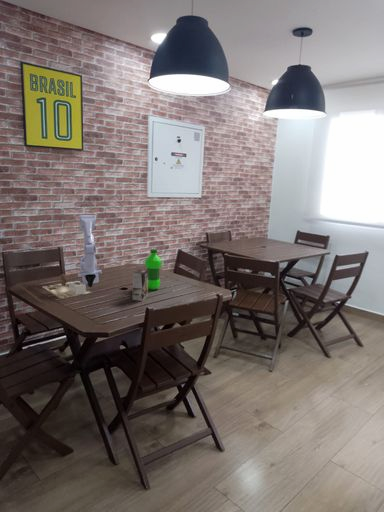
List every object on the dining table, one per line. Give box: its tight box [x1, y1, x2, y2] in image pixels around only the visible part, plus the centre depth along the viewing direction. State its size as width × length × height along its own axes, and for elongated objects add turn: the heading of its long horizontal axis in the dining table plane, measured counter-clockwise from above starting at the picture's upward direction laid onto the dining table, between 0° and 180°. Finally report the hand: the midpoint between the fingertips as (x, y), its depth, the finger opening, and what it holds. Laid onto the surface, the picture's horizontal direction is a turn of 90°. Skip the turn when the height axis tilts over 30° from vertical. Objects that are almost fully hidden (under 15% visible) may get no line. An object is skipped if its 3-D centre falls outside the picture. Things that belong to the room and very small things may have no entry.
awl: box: [60, 273, 67, 286], centre depth 223 cm, size 3×3×6 cm
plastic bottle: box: [144, 248, 162, 291], centre depth 228 cm, size 10×10×25 cm
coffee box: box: [132, 268, 149, 302], centre depth 210 cm, size 9×6×16 cm
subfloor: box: [42, 281, 93, 299], centre depth 216 cm, size 19×26×1 cm
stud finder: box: [68, 280, 87, 296], centre depth 212 cm, size 6×9×6 cm, turn 43°
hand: (90, 286), depth 217 cm, fingers closed
